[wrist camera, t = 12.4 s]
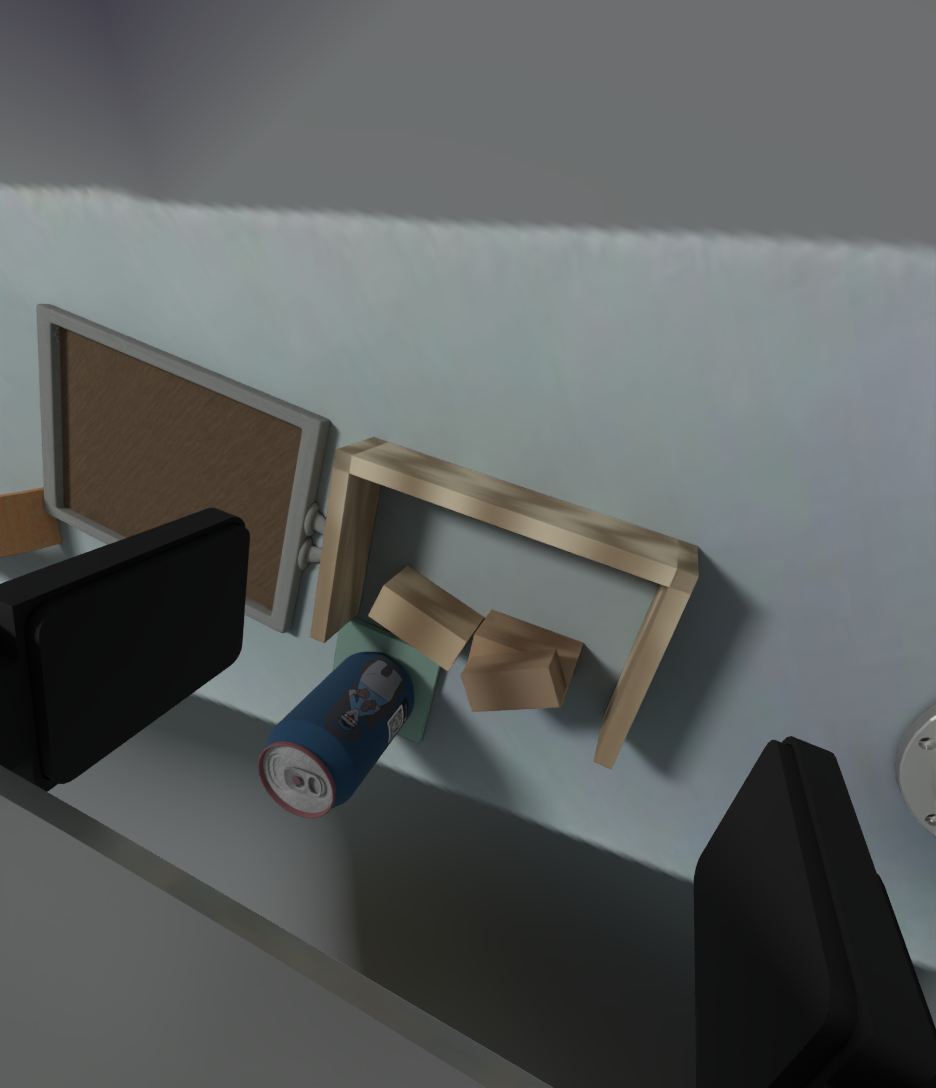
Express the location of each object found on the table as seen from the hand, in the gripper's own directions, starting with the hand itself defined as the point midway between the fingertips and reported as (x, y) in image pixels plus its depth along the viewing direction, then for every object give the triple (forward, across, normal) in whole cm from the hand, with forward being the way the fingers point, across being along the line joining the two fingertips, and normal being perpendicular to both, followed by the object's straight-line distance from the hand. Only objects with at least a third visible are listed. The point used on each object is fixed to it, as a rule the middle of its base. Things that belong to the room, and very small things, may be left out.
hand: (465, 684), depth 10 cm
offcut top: (+24, +1, +16) cm, 30 cm away
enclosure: (+28, +5, +12) cm, 31 cm away
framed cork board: (+29, +33, +14) cm, 46 cm away
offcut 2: (+28, +1, +16) cm, 33 cm away
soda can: (+28, +12, +25) cm, 39 cm away
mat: (+28, +12, +25) cm, 40 cm away
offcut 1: (+28, +9, +16) cm, 34 cm away
